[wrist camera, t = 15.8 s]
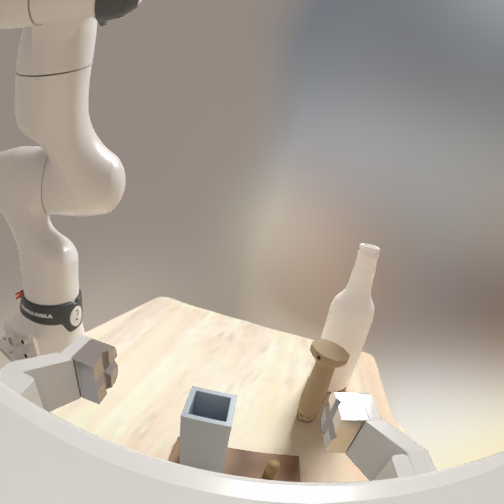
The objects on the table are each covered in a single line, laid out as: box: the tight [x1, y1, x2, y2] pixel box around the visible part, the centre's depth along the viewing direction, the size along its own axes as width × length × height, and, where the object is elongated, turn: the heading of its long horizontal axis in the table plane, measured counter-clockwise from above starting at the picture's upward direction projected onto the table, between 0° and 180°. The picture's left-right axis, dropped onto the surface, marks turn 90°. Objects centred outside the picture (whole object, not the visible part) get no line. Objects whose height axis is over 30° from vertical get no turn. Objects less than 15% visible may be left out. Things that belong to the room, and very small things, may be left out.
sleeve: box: [179, 386, 237, 473], centre depth 30 cm, size 6×6×13 cm
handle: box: [297, 339, 350, 422], centre depth 44 cm, size 5×6×15 cm
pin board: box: [170, 437, 300, 482], centre depth 31 cm, size 18×9×4 cm, turn 86°
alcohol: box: [309, 243, 380, 392], centre depth 54 cm, size 9×9×30 cm
